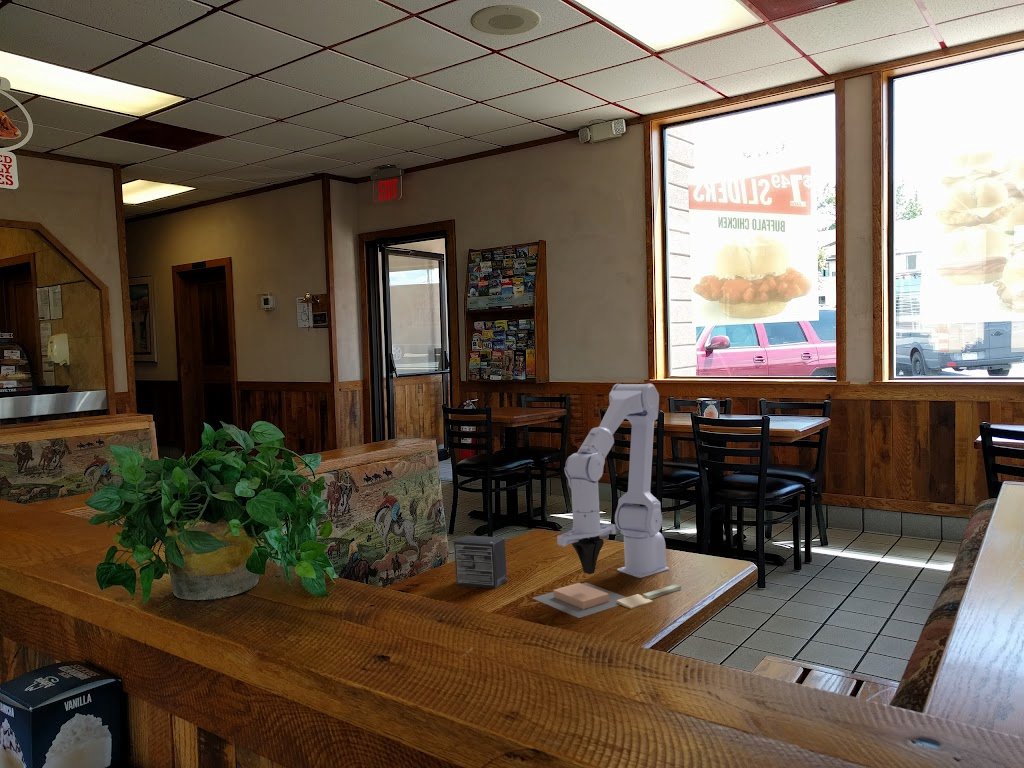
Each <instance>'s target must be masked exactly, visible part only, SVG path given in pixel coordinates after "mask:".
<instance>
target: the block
mask: <svg viewBox="0 0 1024 768" xmlns="http://www.w3.org/2000/svg"><path fill="white" fill-rule="evenodd" d="M552 592H554V598H557V599H559V600H562V601H564V602H567V603H569V604H572V605H574V606H576V607H579V608H581V609H586V608H589V607H593V606H596V605H599V604H602V603H605V602H609V594H608V593H606V592H603V591H600V590H597V589H595V588H592V587H589V586H586V585H584V584H582V583H580V582H577V583H573V584H570V585H569V584H568V585H566V586H562V587H559V588H555V589H553V590H552Z"/></svg>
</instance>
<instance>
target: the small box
mask: <svg viewBox="0 0 1024 768" xmlns="http://www.w3.org/2000/svg"><path fill="white" fill-rule="evenodd" d="M453 546H454V559H455V561H454V563H455V564H454V565H455V576H456V578H455V579H456V582H455V583H456V586H459V587H470V588H471V587H472V588H480V587H483V589H498V588H499V587H500V586H502V585H503V584H505V583H507V582H508V575H507V574H508V573H507V558H506V556H507V555H506V554H507V553H506V539H505V537H500V536H499V537H497V536H483V535H482V536H481V535H480V536H479V535H464V536H463V537H460V538H458V539H456V540H454V541H453Z"/></svg>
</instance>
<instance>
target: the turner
mask: <svg viewBox="0 0 1024 768" xmlns="http://www.w3.org/2000/svg"><path fill="white" fill-rule="evenodd" d="M680 590H682V585H681V584H678V583H675V584H671V585H669V586H665V587H662V588H659V589H655V590H651V591H649V592H648V591H647V592H645V593H642V595H641V594H639V593H637V594H633V595H630V596H625V597H626V598H622V599H619V600H617V603H619V604H621V605H620V606H623V607H625V608H627V609H630V610H632V609H635V608H639V607H641V606H644V605H648V604H651V603H653V599H655V598H658V597H661V596H665V595H668V594H672V593H674V592H676V591H680Z"/></svg>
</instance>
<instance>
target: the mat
mask: <svg viewBox="0 0 1024 768" xmlns="http://www.w3.org/2000/svg"><path fill="white" fill-rule="evenodd" d="M581 584H584V585H586V586H589V587H592V588H595V589H597V590H600V591H603V592H606V593H608V594H609V602H605V603H602V604H599V605H596V606H593V607H589V608H586V609H581V608H579V607H576V606H574V605H572V604H569V603H567V602H564V601H562V600H559V599H557V598H554V592H553V591H551V592H548V593H545V594H541V595H538V596H535V597H532V600H535V601H538V602H540V603H542V604H545V605H547V606H550V607H552V608H554V609H557V610H559V611H561V612H563V613H566V614H568V615H570V616H572V617H576V618H578V619H580V618H584V617H586V616H587V617H588V616H590V615H593V614H597V613H600V612H603V611H606V610H609V609H612V608H615V607H619V606H622V605H621V604H619V603H617V600H619V599H622V598H626V597H627V596H624V595H622V594H618V593H616V592H614V591H610V590H608V589H605V588H602V587H600V586H597V585H594V584H591V583H588V582H583V583H581Z"/></svg>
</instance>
